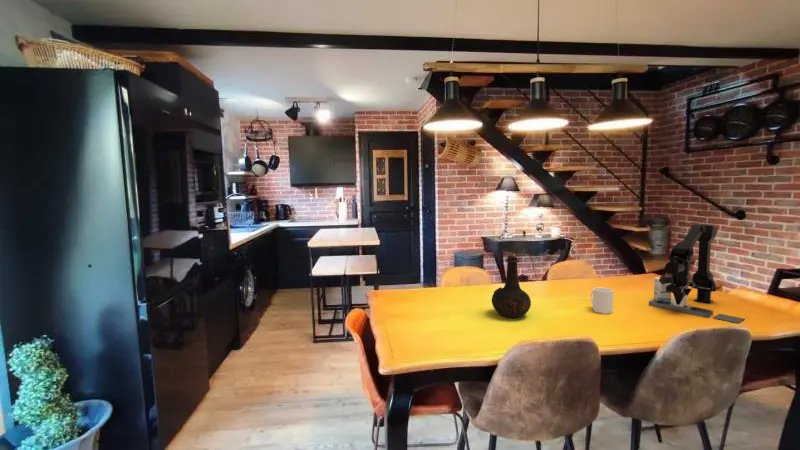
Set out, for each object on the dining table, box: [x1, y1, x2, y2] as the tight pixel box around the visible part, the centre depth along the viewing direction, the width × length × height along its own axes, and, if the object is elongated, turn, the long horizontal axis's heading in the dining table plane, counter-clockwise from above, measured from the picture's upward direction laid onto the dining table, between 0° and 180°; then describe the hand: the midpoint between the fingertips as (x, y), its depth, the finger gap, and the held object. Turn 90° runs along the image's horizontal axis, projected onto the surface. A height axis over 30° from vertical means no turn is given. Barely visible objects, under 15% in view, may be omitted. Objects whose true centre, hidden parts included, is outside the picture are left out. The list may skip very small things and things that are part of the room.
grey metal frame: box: [648, 298, 714, 319], centre depth 184 cm, size 7×24×2 cm, turn 36°
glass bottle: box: [491, 255, 532, 319], centre depth 179 cm, size 18×18×28 cm
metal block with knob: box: [672, 294, 688, 308], centre depth 184 cm, size 4×4×8 cm
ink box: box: [653, 276, 672, 302], centre depth 198 cm, size 9×5×12 cm, turn 168°
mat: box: [712, 313, 746, 325], centre depth 171 cm, size 9×9×1 cm
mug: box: [590, 286, 614, 315], centre depth 185 cm, size 9×12×11 cm
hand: (679, 303), depth 184 cm, fingers closed on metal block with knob, 4 cm apart
